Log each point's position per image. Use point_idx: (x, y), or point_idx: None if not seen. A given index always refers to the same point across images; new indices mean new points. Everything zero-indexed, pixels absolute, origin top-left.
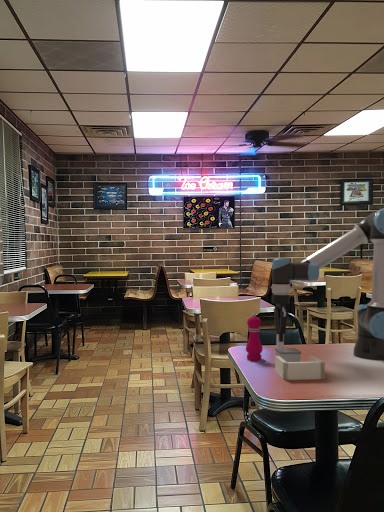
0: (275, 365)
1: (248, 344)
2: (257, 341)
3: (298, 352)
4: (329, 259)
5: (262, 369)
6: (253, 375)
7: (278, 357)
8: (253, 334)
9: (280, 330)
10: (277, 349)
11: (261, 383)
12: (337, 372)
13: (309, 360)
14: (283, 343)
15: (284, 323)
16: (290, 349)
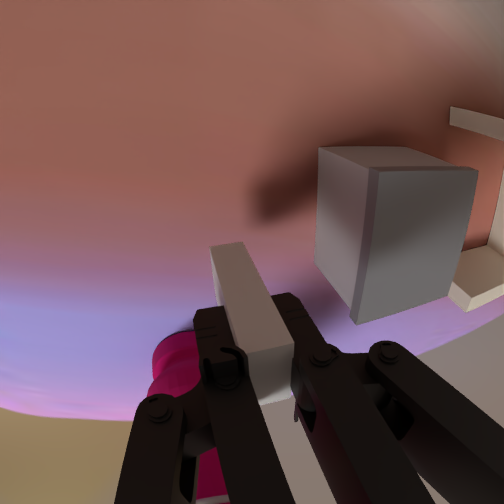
0: None
1: None
2: None
3: (472, 187)
4: None
5: (384, 319)
6: (429, 336)
7: (484, 299)
8: None
9: (400, 408)
10: (389, 311)
11: (481, 309)
12: (468, 18)
13: (489, 136)
14: (257, 271)
15: (488, 443)
16: (415, 225)
